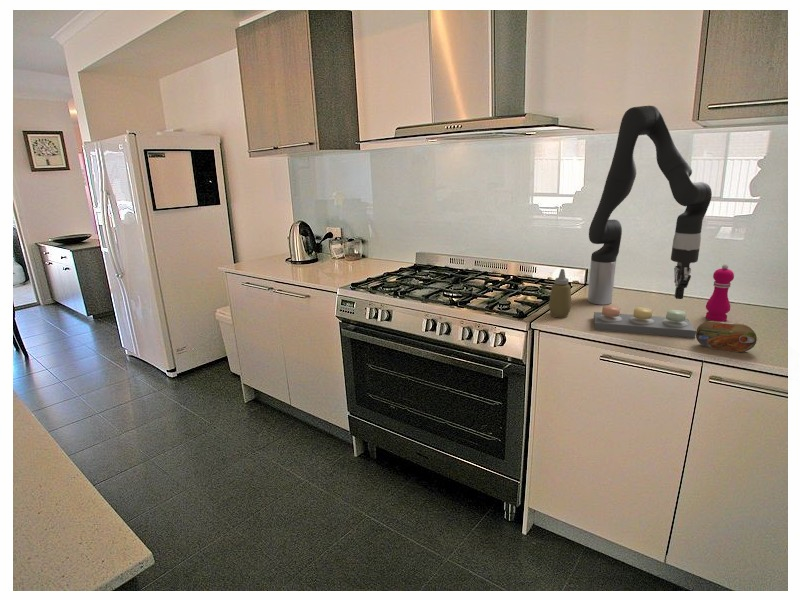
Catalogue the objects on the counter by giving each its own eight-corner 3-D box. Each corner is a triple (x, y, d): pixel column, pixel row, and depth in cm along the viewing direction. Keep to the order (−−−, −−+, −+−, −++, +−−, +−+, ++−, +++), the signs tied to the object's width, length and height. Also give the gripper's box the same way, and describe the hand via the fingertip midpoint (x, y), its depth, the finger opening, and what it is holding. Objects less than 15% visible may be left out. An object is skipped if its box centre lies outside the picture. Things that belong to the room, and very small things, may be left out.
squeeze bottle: (544, 316, 174) (547, 269, 168) (554, 310, 179) (557, 265, 174) (564, 320, 168) (568, 273, 163) (574, 315, 174) (578, 268, 168)
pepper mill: (732, 322, 161) (742, 266, 155) (709, 321, 162) (718, 266, 156) (722, 315, 167) (732, 262, 162) (700, 315, 169) (709, 261, 163)
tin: (693, 346, 143) (698, 320, 140) (693, 342, 146) (697, 317, 143) (753, 354, 136) (759, 328, 133) (752, 350, 138) (758, 324, 136)
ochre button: (632, 313, 161) (633, 306, 161) (650, 314, 160) (651, 308, 159) (634, 318, 156) (635, 311, 156) (652, 319, 155) (653, 313, 154)
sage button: (664, 315, 158) (665, 309, 157) (683, 317, 156) (684, 310, 155) (667, 321, 153) (668, 314, 152) (686, 322, 151) (687, 315, 150)
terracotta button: (601, 311, 165) (602, 304, 164) (618, 312, 163) (619, 306, 162) (602, 316, 160) (602, 309, 159) (620, 317, 158) (620, 310, 157)
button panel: (593, 318, 170) (594, 311, 169) (686, 325, 159) (687, 318, 159) (594, 329, 159) (595, 322, 158) (694, 337, 149) (696, 330, 148)
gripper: (668, 242, 155) (662, 292, 159) (676, 249, 143) (669, 303, 148) (694, 243, 152) (687, 293, 157) (704, 250, 140) (696, 304, 145)
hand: (678, 298), depth 152 cm, fingers closed
